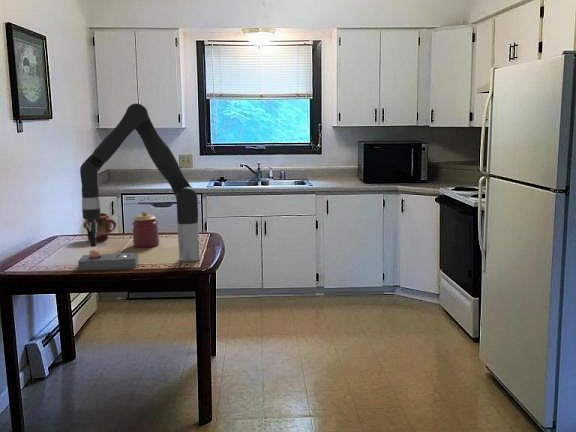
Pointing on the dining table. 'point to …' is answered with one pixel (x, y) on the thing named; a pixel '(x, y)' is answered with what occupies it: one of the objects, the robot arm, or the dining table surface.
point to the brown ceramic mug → (102, 227)
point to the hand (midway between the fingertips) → (93, 246)
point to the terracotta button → (94, 254)
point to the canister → (145, 231)
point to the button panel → (108, 261)
